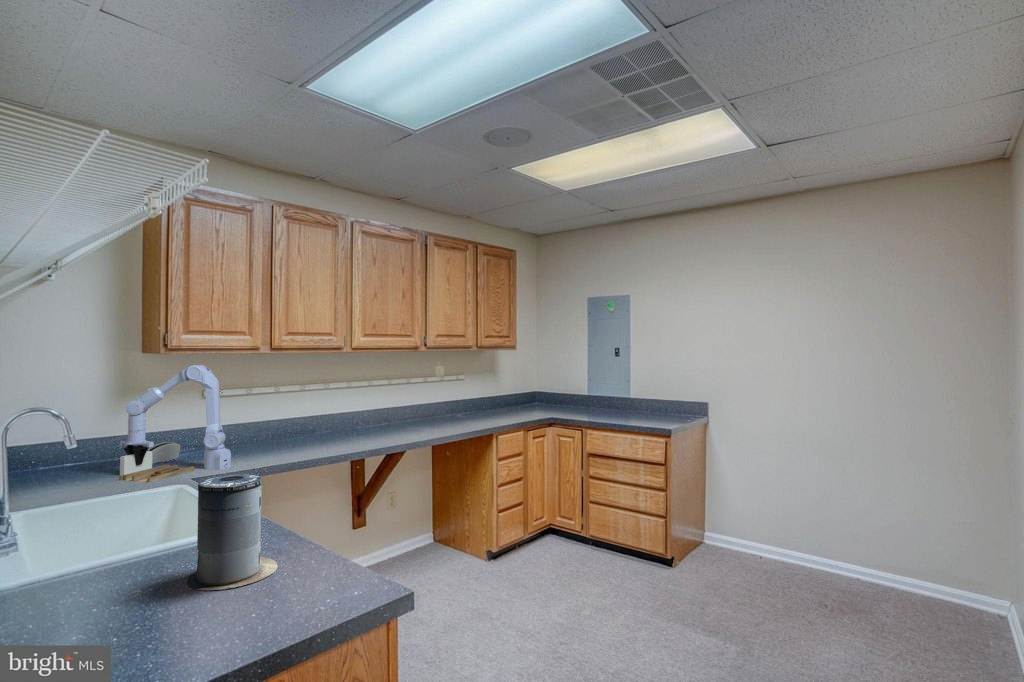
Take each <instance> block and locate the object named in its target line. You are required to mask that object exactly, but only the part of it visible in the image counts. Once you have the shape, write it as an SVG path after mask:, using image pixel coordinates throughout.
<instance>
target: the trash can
mask: <svg viewBox="0 0 1024 682" xmlns="http://www.w3.org/2000/svg"><path fill="white" fill-rule="evenodd" d="M263 482H264V479H263V477H262V476H261V475H258V474H231V475H222V476H216V477H211V478H207V479H204V480H202V481H199V483H198V484H197V495H198V496H197V541H196V543H197V544H196V546H197V562H196V570H195V571H194V572H192V573H191V574H190V575H189V576H188V577H187V579H186V585H187V586H188V587H189V588H192V589H194V590H199V591H214V590H215V591H217V590H228V589H233V588H237V587H243V586H246V585H250V584H252V583H256V582H258V581H261V580H263V579H266V578H267V577H269V576H271V575H272V574H273V573H275V572H276V571H277V569H278V563H277V561H275V560H274V559H272V558H269V557H264V556H261V544H262V543H261V541H262V540H261V539H262V538H261V535H262V534H261V532H262V528H261V525H262V496H263V495H262V487H263V486H262V485H263Z"/></svg>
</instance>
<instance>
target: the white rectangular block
mask: <svg viewBox="0 0 1024 682" xmlns="http://www.w3.org/2000/svg"><path fill="white" fill-rule="evenodd" d="M119 459H120V461H119V476H121V475H126V474H130V473H134V472H138V471H142V470H147V469H151V468H153V464H152V451H147V452H146V454H145V456H144V459H143V462H142V464H140V465H136V463H135V454H131V455H127V454H126V455H123V456H120V457H119Z"/></svg>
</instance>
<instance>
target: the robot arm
mask: <svg viewBox="0 0 1024 682" xmlns="http://www.w3.org/2000/svg"><path fill="white" fill-rule="evenodd" d="M188 381H192V382H195V383H198V384H199V385H201V386H203V387H204V389H205V391H204V392H205V409H206V410H205V411H206V412H205V415H206V428H205V436H204V438H203V441H202V443H203V446H204V448H203V449H204V455H203V456H204V457H203V461H204V464H203V466H204V467H203V469H204V470H208V471H211V470H215V471H217V470H218V471H221V470H222V471H223V470H224V469H228V468H231V466H232V464H231V463H232V453H231V450H230V449H229V448H226V447H225V444H224V443H225V440H226V438H227V437H226V433H225V432H224V430H223V429H224V428H223V426H222V422H221V399H220V382H219V379H218V378H217V377H216V376H215V374H214V373H213V372H212V370H211V368H209V367H207V366H205V365H204V364H198V365H196V364H195V365H190V366H188V367H187V368H185V369H183V370H180V371H179V372H178V373H177V374H175V375H174V376H173V377H171V378H170V379H169V380H167V381H166V382H165V383H162V385H160V386H158V387H155V386H153V387H150V388H147V389H146V392H145V393H143V394H142V395H137V396H136V397H135V399H136V400H130V401H129V402H128V403H127V405H126V407H125V411H126V413H127V414H128V415H127V416H128V417H127V418H128V419H127V421H128V422H127V440H120V441H119V446H121V447H124V448H123V451H124V452H125V453H126V455H131V454H135V463H136V465H140V464H142V462H143V459H144V456H145V454H146V452H147V450H148V449H149V447H153V446H154V445H155V444H154V441H151V440H146V430H147V429H146V428H147V427H146V426H147V424H146V423H147V422H146V421H147V416H146V415H147V411H148V410H149V409H151V407H153V406H154V405H156V404H158V403H159V402H160V401H162V400H163V399H165V394H166V393H168V392H169V391H171V390H172V389H174V388H175V387H177V386H178V385H180V384H181V383H184V382H188ZM126 446H127V447H126Z"/></svg>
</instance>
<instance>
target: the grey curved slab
mask: <svg viewBox="0 0 1024 682" xmlns="http://www.w3.org/2000/svg"><path fill="white" fill-rule="evenodd" d="M147 451H152V465H153V464H157V463H159V462H161V463H162V462H164V463H165V461H167V462H170V461H169V460H171V461H173V460H172V459H175V460H177V459H176V458H178V459H179V455H180V451H181V445H180V444H179V443H177V442H172V441H163V442H159V443H155V444H154V446H153V447H149V449H148V450H147Z"/></svg>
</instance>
